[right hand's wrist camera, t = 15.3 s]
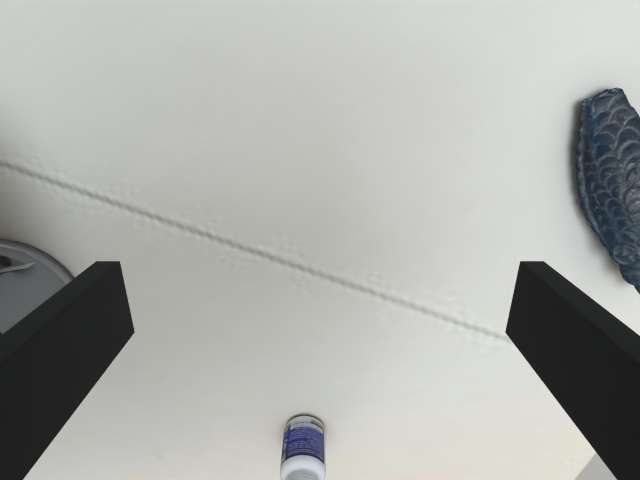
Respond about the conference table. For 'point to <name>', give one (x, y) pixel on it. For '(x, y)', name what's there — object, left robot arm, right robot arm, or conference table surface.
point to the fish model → (612, 177)
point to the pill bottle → (303, 450)
